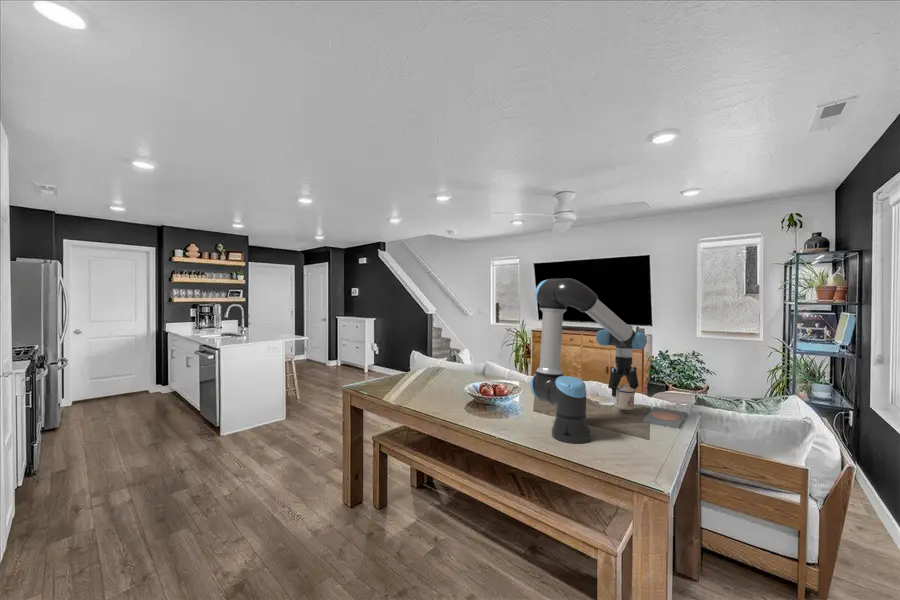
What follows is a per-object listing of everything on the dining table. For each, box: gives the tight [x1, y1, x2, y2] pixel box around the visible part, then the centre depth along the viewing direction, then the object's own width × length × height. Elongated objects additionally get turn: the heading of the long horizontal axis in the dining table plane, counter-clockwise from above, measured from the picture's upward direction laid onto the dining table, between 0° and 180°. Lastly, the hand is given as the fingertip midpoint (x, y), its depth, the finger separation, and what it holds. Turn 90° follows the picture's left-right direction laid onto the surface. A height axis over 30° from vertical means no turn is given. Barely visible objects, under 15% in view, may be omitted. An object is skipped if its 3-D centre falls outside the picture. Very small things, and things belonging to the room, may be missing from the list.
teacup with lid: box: [613, 382, 636, 411], centre depth 186 cm, size 12×9×12 cm
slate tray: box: [642, 406, 688, 430], centre depth 176 cm, size 24×14×1 cm, turn 141°
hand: (623, 402), depth 186 cm, fingers closed on teacup with lid, 9 cm apart
